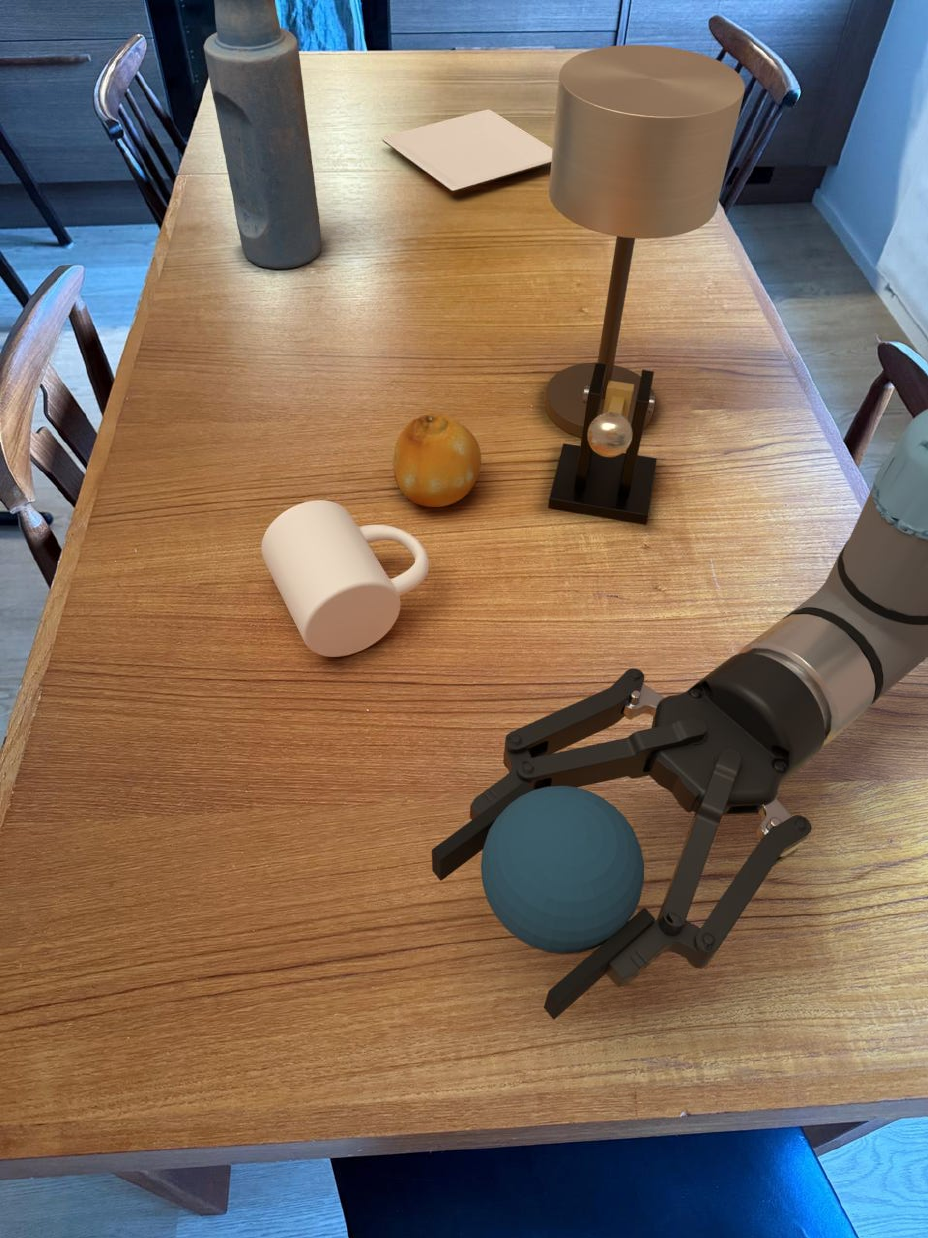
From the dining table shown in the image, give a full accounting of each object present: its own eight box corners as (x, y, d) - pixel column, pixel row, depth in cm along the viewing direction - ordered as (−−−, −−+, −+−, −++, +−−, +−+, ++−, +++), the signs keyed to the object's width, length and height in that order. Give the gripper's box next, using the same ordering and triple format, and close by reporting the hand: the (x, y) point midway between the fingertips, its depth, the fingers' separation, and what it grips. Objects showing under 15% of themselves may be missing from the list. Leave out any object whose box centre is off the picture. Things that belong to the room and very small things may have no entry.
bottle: (338, 250, 110) (310, -43, 87) (274, 280, 106) (226, -21, 83) (289, 222, 114) (250, -65, 91) (226, 250, 110) (167, -45, 87)
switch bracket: (646, 524, 81) (671, 419, 72) (547, 507, 82) (560, 402, 73) (654, 467, 86) (679, 362, 77) (561, 452, 87) (575, 346, 78)
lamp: (661, 461, 86) (741, 126, 63) (518, 438, 88) (544, 104, 64) (673, 376, 95) (748, 54, 71) (543, 357, 97) (574, 36, 73)
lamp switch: (626, 465, 64) (635, 421, 62) (582, 458, 64) (589, 413, 63) (634, 417, 78) (641, 380, 76) (597, 411, 78) (604, 374, 77)
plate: (452, 204, 118) (452, 188, 117) (381, 151, 128) (380, 135, 126) (564, 170, 125) (566, 155, 123) (488, 122, 135) (489, 107, 133)
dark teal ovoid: (455, 882, 54) (458, 786, 44) (581, 836, 56) (609, 735, 46) (510, 1020, 49) (525, 945, 40) (645, 965, 51) (690, 880, 42)
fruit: (369, 447, 83) (390, 410, 76) (447, 427, 86) (474, 390, 79) (400, 528, 83) (424, 499, 75) (477, 506, 86) (507, 475, 78)
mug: (310, 671, 70) (297, 605, 64) (268, 585, 75) (252, 517, 69) (448, 619, 73) (448, 551, 67) (398, 540, 79) (394, 471, 73)
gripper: (902, 856, 52) (628, 1131, 43) (640, 631, 63) (374, 816, 53) (959, 795, 46) (656, 1099, 37) (660, 558, 57) (366, 751, 48)
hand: (491, 932), depth 45 cm, fingers closed on dark teal ovoid, 8 cm apart
